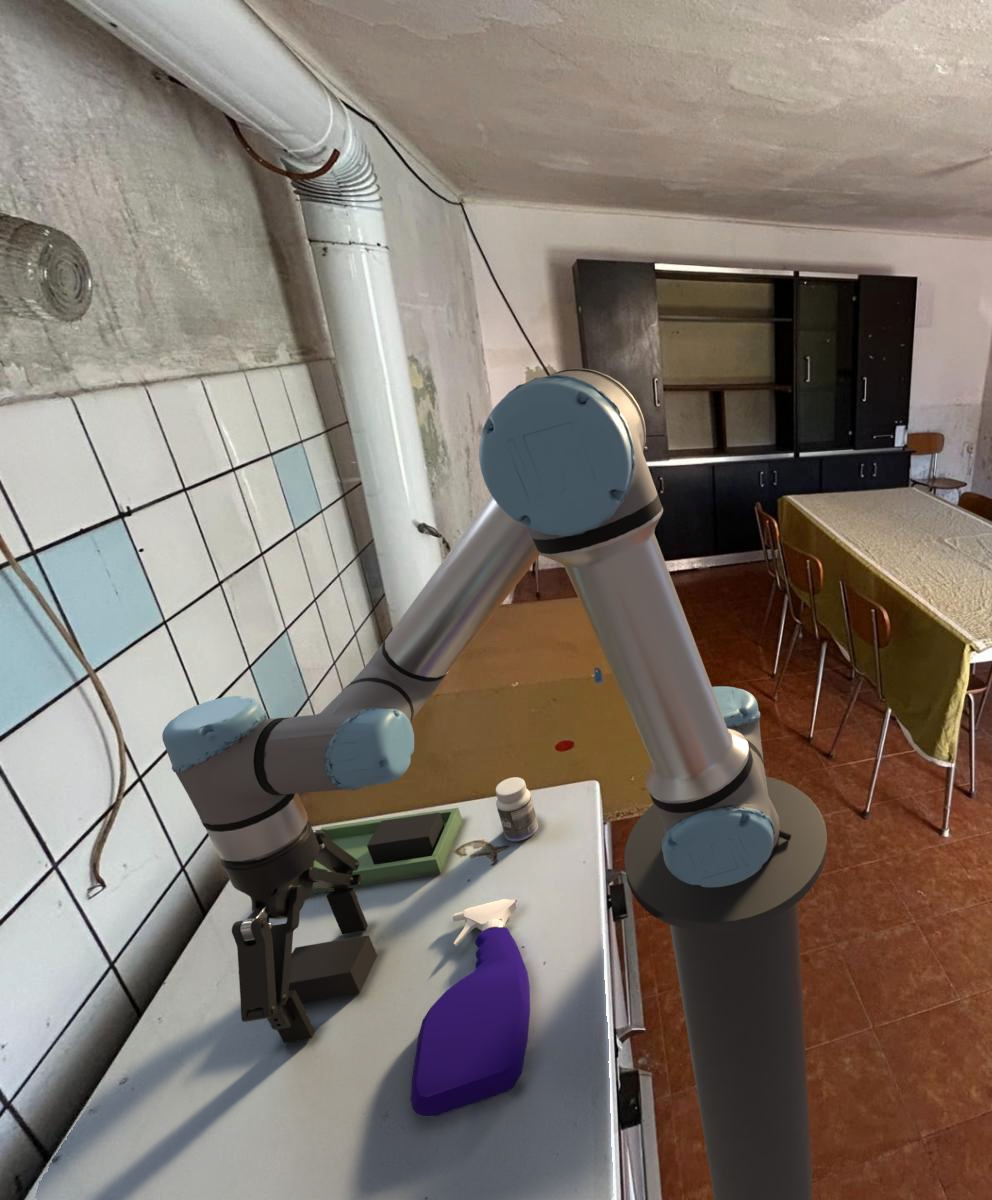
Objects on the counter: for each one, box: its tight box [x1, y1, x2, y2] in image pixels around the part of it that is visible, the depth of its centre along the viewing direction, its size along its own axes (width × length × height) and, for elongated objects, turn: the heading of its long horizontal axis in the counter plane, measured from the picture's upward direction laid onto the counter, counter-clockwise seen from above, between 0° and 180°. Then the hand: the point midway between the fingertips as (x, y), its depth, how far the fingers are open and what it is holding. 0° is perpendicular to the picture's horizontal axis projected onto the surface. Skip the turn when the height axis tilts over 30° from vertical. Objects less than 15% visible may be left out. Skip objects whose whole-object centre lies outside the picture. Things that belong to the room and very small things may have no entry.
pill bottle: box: [495, 776, 539, 842], centre depth 96 cm, size 5×5×8 cm
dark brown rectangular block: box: [289, 935, 378, 1005], centre depth 76 cm, size 8×5×4 cm, turn 100°
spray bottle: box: [410, 898, 531, 1118], centre depth 73 cm, size 3×11×24 cm
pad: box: [367, 812, 445, 865], centre depth 94 cm, size 8×5×4 cm, turn 100°
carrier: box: [311, 807, 463, 895], centre depth 94 cm, size 19×11×3 cm, turn 100°
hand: (329, 979), depth 76 cm, fingers open, 13 cm apart
